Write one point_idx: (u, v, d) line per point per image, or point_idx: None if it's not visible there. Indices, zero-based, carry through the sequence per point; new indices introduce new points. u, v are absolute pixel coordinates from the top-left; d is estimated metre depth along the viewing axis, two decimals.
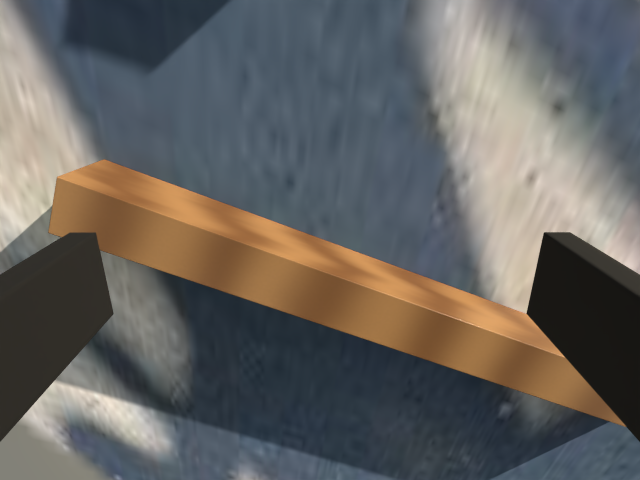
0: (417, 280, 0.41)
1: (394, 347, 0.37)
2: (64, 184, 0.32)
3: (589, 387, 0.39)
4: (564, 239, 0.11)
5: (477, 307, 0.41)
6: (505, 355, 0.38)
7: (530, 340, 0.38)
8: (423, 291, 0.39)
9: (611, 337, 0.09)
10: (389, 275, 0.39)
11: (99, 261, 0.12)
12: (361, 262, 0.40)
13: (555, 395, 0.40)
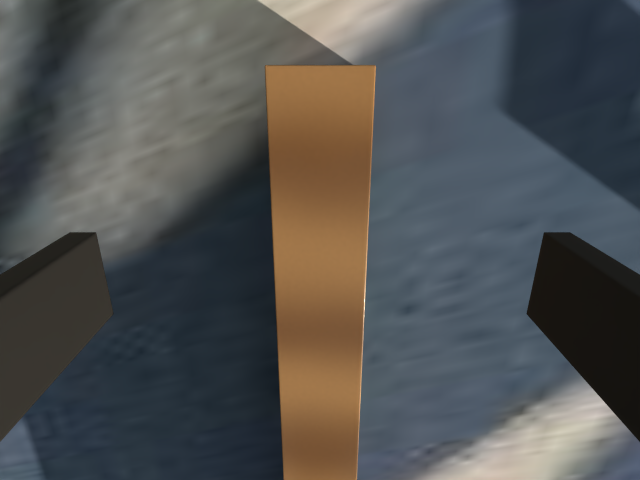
0: None
1: None
2: (366, 81, 0.19)
3: None
4: (564, 239, 0.11)
5: None
6: None
7: None
8: None
9: (611, 337, 0.09)
10: None
11: (99, 261, 0.12)
12: None
13: None
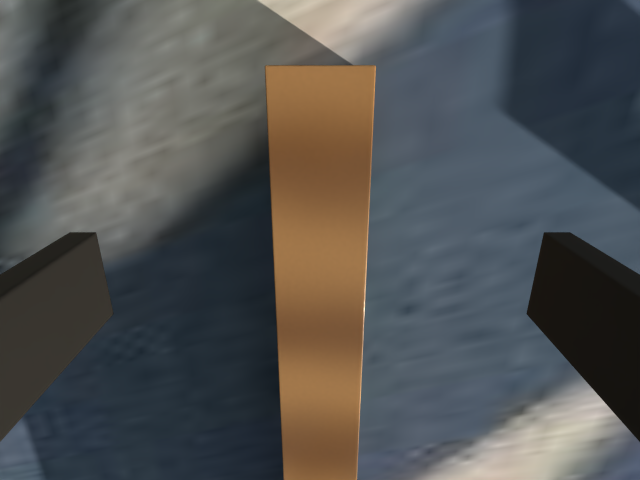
0: None
1: None
2: (366, 81, 0.19)
3: None
4: (564, 239, 0.11)
5: None
6: None
7: None
8: None
9: (611, 337, 0.09)
10: None
11: (99, 261, 0.12)
12: None
13: None
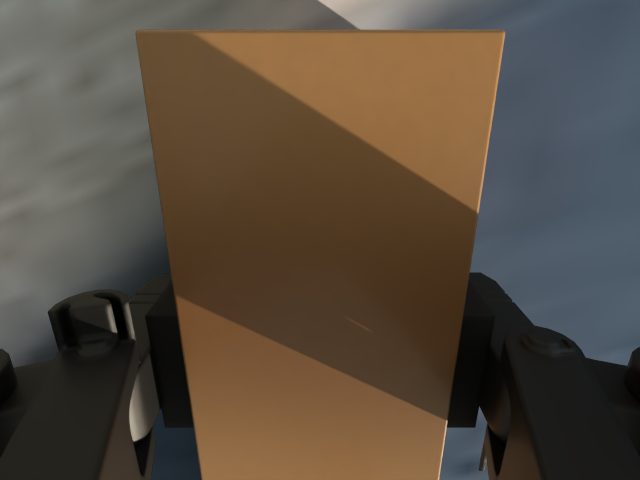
0: None
1: None
2: (469, 84, 0.06)
3: None
4: None
5: None
6: None
7: None
8: None
9: None
10: None
11: None
12: None
13: None
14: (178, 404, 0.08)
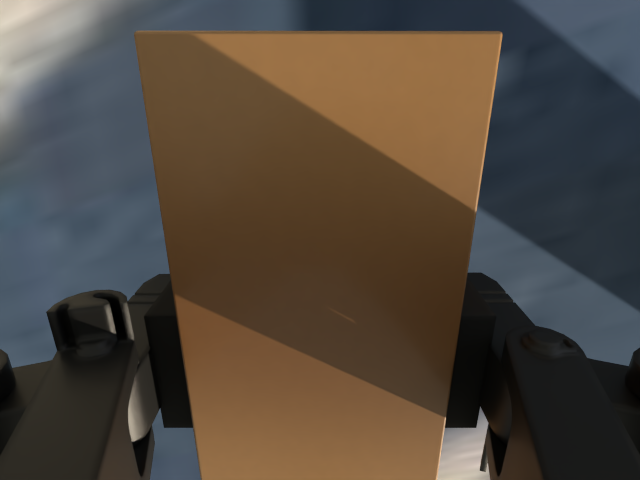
0: None
1: None
2: (467, 85, 0.06)
3: None
4: None
5: None
6: None
7: None
8: None
9: None
10: None
11: None
12: None
13: None
14: (177, 404, 0.08)
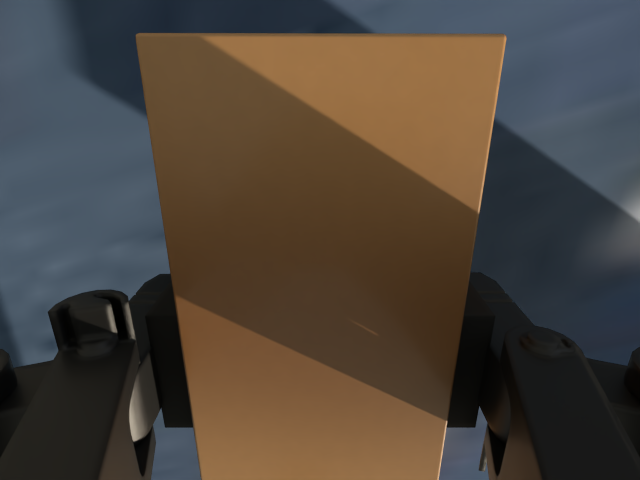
0: None
1: None
2: (469, 88, 0.06)
3: None
4: None
5: None
6: None
7: None
8: None
9: None
10: None
11: None
12: None
13: None
14: (178, 404, 0.08)
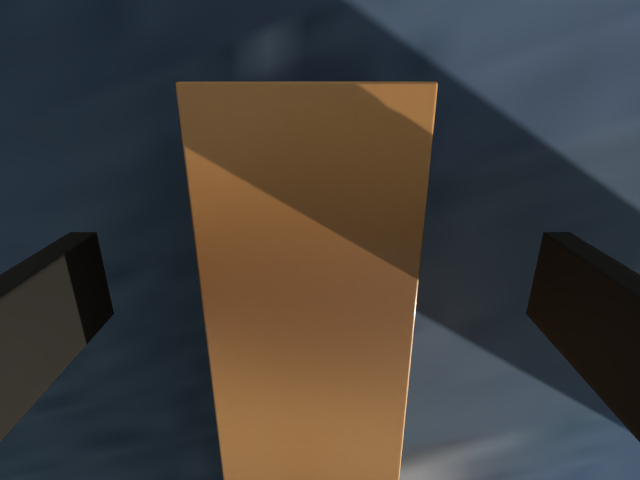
0: None
1: None
2: (414, 119, 0.08)
3: None
4: (564, 239, 0.11)
5: None
6: None
7: None
8: None
9: (611, 337, 0.09)
10: None
11: (99, 261, 0.12)
12: None
13: None
14: None
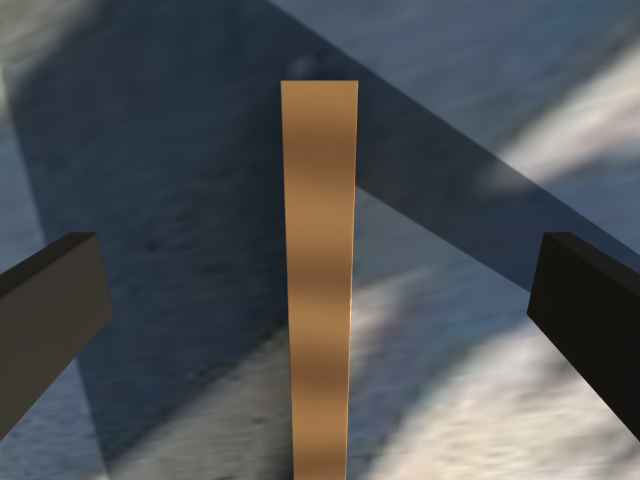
0: None
1: (294, 443, 0.38)
2: (351, 91, 0.26)
3: None
4: (564, 239, 0.11)
5: None
6: None
7: None
8: None
9: (611, 337, 0.09)
10: None
11: (99, 261, 0.12)
12: None
13: None
14: None
